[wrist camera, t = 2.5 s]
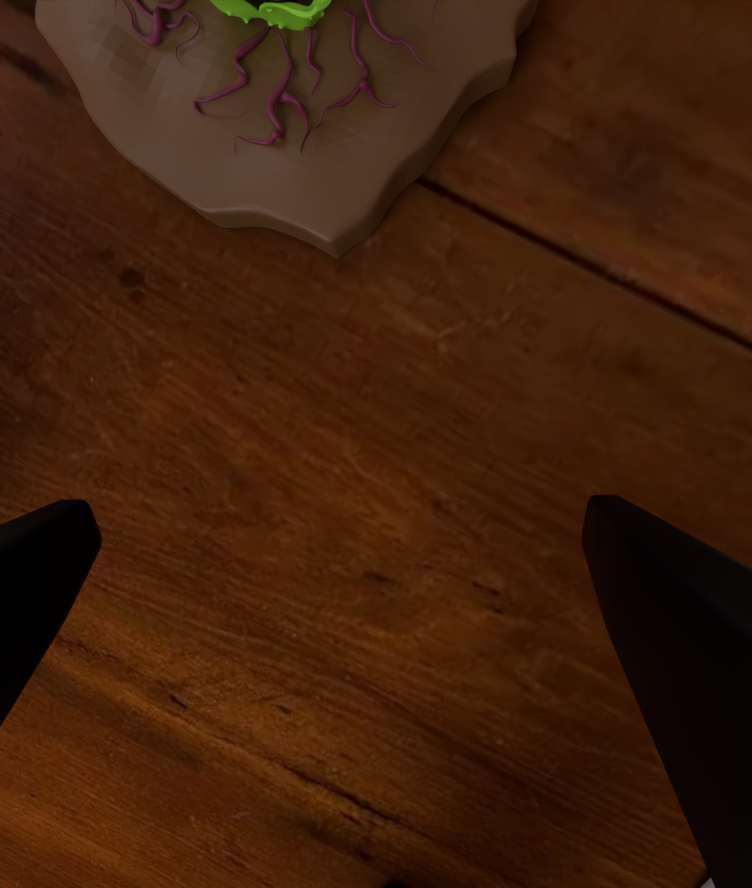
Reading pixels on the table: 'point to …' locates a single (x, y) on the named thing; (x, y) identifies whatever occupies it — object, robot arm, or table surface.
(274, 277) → the table surface
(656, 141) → the table surface
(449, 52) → the plant
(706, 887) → the bath foam
